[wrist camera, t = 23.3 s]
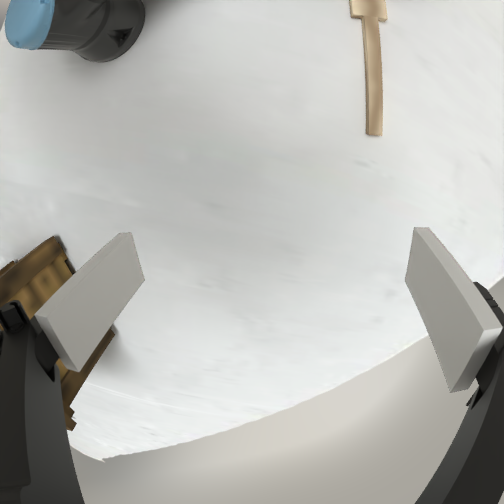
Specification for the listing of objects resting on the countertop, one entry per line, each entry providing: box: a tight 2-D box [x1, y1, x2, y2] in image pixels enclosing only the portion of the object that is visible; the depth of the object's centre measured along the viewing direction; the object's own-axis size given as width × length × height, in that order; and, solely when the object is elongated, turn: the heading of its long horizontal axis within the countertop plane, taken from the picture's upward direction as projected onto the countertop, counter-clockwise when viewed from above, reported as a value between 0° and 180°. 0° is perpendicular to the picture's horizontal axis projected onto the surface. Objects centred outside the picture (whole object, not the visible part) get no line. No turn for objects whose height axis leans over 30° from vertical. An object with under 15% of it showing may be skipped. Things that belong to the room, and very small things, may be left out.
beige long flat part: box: [349, 0, 388, 136], centre depth 34 cm, size 6×28×2 cm, turn 3°
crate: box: [0, 236, 115, 431], centre depth 57 cm, size 35×35×33 cm
